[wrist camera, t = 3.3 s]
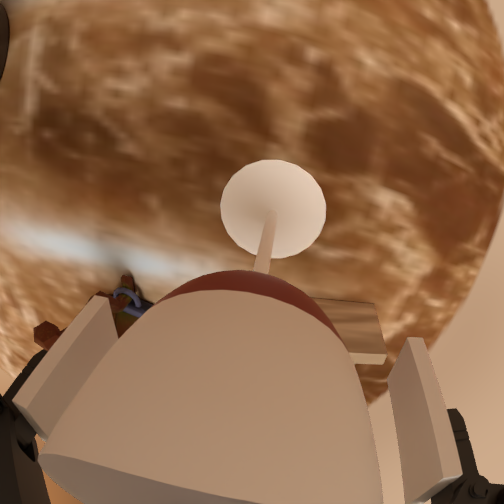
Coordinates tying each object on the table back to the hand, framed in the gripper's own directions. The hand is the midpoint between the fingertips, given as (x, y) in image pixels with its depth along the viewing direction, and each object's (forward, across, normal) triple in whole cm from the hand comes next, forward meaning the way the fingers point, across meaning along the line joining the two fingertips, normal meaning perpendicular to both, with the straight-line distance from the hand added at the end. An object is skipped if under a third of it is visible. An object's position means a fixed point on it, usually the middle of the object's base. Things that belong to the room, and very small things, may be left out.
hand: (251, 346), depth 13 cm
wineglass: (+15, 0, 0) cm, 15 cm away
